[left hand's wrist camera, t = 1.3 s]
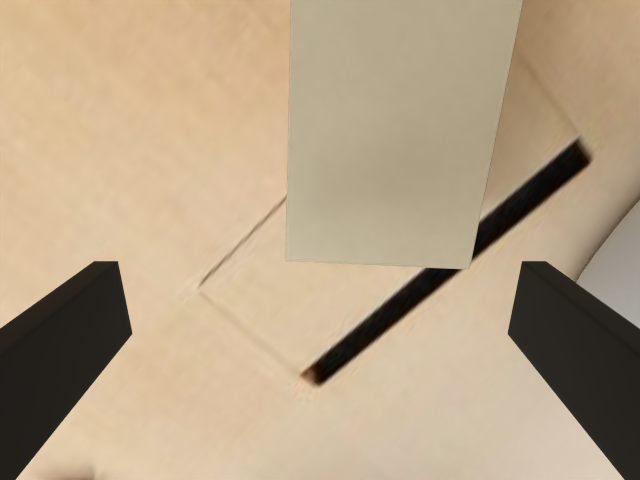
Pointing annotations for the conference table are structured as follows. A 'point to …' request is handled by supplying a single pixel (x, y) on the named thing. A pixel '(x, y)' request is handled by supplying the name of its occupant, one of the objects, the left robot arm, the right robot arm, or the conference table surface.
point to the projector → (618, 269)
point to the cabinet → (393, 127)
